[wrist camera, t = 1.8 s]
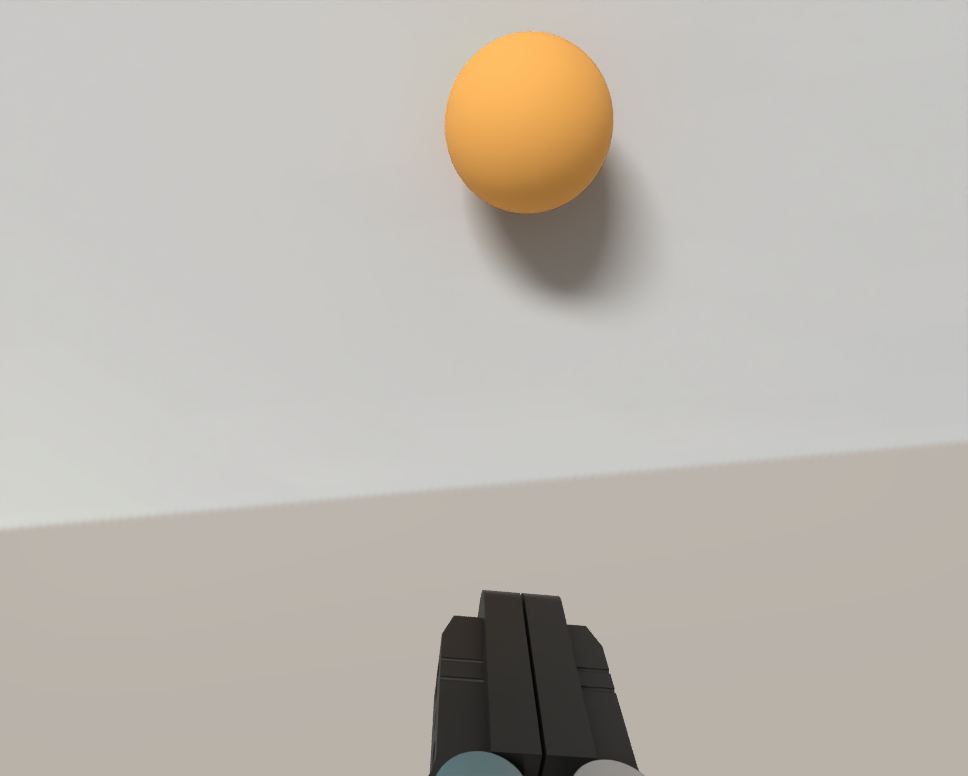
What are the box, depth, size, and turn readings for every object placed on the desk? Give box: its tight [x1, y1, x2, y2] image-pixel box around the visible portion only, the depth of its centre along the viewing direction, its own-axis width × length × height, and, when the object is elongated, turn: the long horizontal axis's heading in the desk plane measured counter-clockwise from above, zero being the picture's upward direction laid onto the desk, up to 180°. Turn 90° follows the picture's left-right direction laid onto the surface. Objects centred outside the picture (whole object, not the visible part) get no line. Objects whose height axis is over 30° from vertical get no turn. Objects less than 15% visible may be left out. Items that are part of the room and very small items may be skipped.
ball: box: [445, 31, 613, 214], centre depth 21 cm, size 6×6×6 cm
